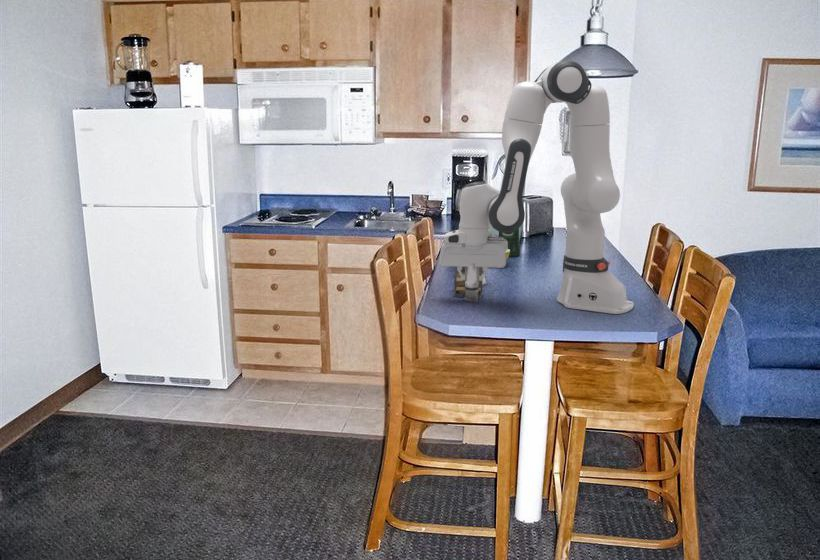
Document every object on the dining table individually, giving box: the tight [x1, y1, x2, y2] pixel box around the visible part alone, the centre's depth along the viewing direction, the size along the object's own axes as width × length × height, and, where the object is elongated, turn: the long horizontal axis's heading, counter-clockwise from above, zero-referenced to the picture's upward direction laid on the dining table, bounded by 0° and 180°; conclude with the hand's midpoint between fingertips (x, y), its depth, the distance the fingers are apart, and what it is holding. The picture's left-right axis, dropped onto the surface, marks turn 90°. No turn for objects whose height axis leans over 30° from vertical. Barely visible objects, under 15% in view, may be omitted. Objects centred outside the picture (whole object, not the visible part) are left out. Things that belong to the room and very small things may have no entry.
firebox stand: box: [453, 266, 484, 299], centre depth 206 cm, size 9×9×11 cm
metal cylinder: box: [464, 263, 479, 303], centre depth 199 cm, size 4×4×12 cm
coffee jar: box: [498, 228, 521, 258], centre depth 266 cm, size 10×8×19 cm
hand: (471, 280), depth 199 cm, fingers closed on metal cylinder, 4 cm apart
